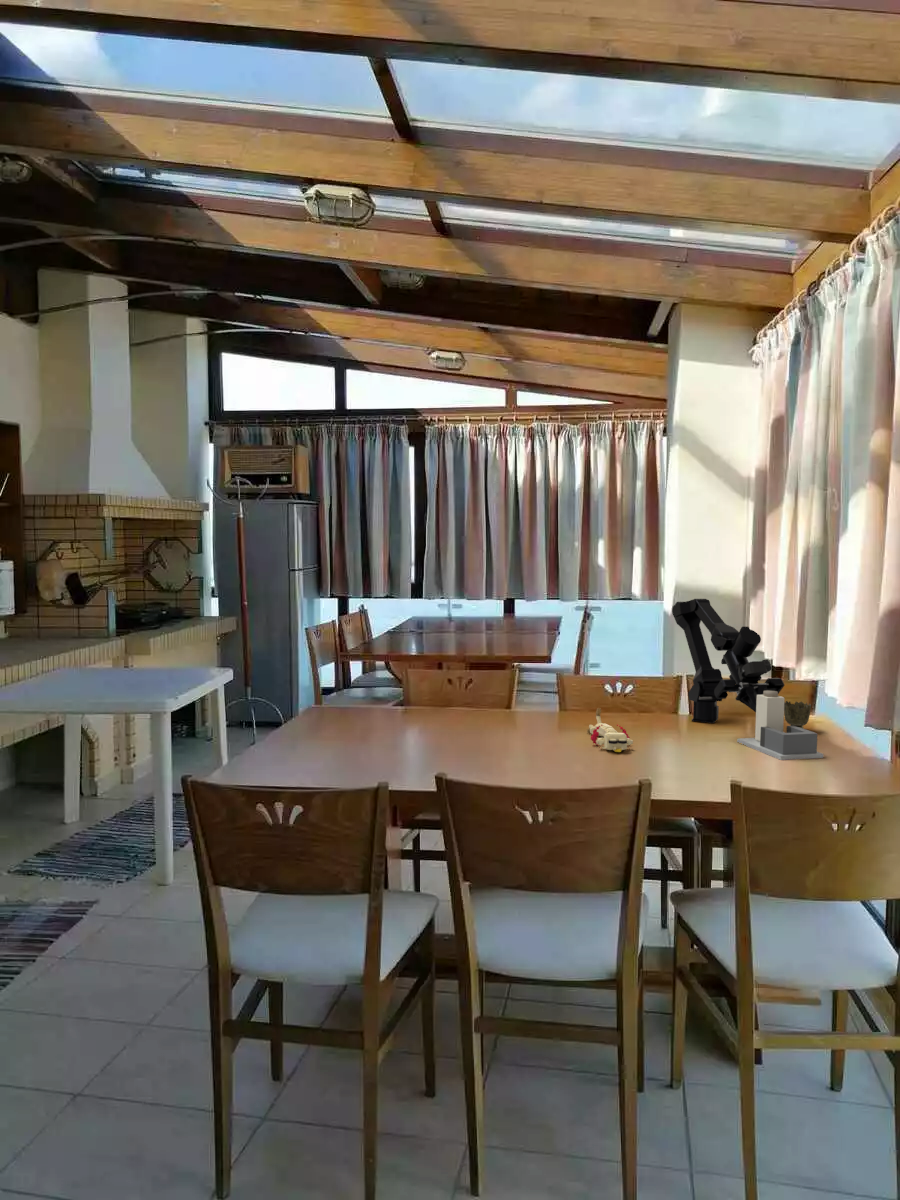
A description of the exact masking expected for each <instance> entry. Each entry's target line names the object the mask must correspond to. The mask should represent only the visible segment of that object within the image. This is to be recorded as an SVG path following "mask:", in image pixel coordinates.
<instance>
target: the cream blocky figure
mask: <svg viewBox="0 0 900 1200" xmlns="http://www.w3.org/2000/svg"><path fill="white" fill-rule="evenodd" d="M601 715H602V708H601V707H597V708H596V712H595V718H596V722H597V723H596V724H595V725H593V724H589V725H588V729H586V733H587V734H589V735H590V740H591V741H592V744H595V745H596V746H601V749H603V750H608V751H613V752H615V753H621V752H622V751H625V750H628V746H632V745H633V744H634V740H633V739H631V738H630V736H629V734H628V733H627V730H626V728H625V729H624V727H623V726H621V725H619V724H616V726H617V727H619V728H620V729H619V730H622V732H618V731H617V730H616V729H615V728H614V727H613V726H612V725H609V724H607V723H603V722H602V718H601ZM602 745H603V746H602Z"/></svg>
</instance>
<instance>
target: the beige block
mask: <svg viewBox="0 0 900 1200" xmlns="http://www.w3.org/2000/svg"><path fill="white" fill-rule="evenodd" d="M784 702H785V697H783V696H780V695H779V694H778V692H777V691H770V690H766V691H763V695H757V701H756V712H755V732H754V733H755V736H754V738H755V739H756V740H758V741H760V735H761V727H771V728H773V729H776V730H779V731H782V732H784V719H785V714H784Z"/></svg>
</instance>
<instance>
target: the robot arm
mask: <svg viewBox="0 0 900 1200" xmlns="http://www.w3.org/2000/svg"><path fill="white" fill-rule="evenodd" d="M671 613H672V616H673V618H674V620H675V623H676V625H678V627H680V628H681V629H682V630H683V632H684V637H685V639H686V642H687V645H688V649H689V652H690V657H691V659H692V663H693V665H694V666H693V667H694V669H695V673H694V677H693V678H692V683H693V685H692V686H691V687H690V690H689V691H688V692H687V694H688V700H689V701H691V702H693V714H692V715H693V717H692V718H691V722H696V721H701V722H700V723H705V722H708V724H715V723H716V722H717V721H718V720H719V711H720V709H719V705H718V702H723V699H727V697H728V693H736V695H737V696H736V697H735V701H739V702H740V703H742V704H744V705H745V706H747V707H748V708H749V709H750V710H752V712H754V713H756V701H757V695H763V691H766V690H770V691H777V692H778V695H779V693H781V691H782V689H784V687H785V683H784V681H783V679H782V678H780V677H768V678H766V680H765V681H764V682H759V681H761V680H762V676H763V675H764V674H767V673H768V672H770V671H772V665H771V662H770V661H769V659H762V660H760V661H759V660H758V661H754V660H753V661H749V659H748V658H749V657H751V656H752V655H753V653H754V652H755V650H756V649H757V648H758V646H759V645H760V643H761V642H762V641H761V640H762V639H761V636H760V634H759V633H757V632H756V631H755V630H753V629H750V627H749V626H741V627H740V629H739V631H738V629H736V628H735V627H734V626H731V625H729V624H727V623H725V621H724V620H723V619H722V617H721V616H720V615H719V614H718V612H716V610H715V609H714V608H713V606H712V605H711V602H710V600H709V599H707V598H694V599H690V600H687V601H676V602H675V604H674V605H672V607H671ZM701 622H702V624H703V625H704V626H705V628H706V629H707V630H708V632H709V633H710V635H711V636H710V641H711V643H712V645H713V647H714V649H715V650H716V651H717V652H718V651H719V652H720V651H722V652H724V651H725V653H724V654H723V656H722V659H721V665H726V666H727V668H728V670H729V672H730V675H729V676H728V678H729V679H728V678H727V679H725V678H724V679H723V677H722V672H721V670H720V668H714V667H713V666H712V663H711V659H710V656H709V652H708V649H707V646H706V645H707V644H706V642H705V639H704V635H703V632H702V629H701V626H700V624H701ZM716 720H717V721H716ZM715 721H716V722H715Z"/></svg>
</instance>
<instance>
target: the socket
mask: <svg viewBox="0 0 900 1200" xmlns="http://www.w3.org/2000/svg"><path fill="white" fill-rule="evenodd" d="M736 742H737V743H738V742H739V743H738V744H740V743H742V744H741V745H743V744H744V745H743V746H745V745H746V746H745V747H748V748H750V749H753V750H755V751H758V752H760V753H763V754H765V755H768V756H770V757H772V758H775V759H778V760H780V761H784V760H785V761H786V760H802V759H803V760H804V759H806V760H808V759H823V758H824V753H822V752H819V751H818V733H816V732H814V731H812V730H808V729H806V728H804V727H803V728H800V727H797V726H794V725H793V726H790V725H786V732H785V731H783V732H782V731H779V730H776V729H773V728H771V727H761V735H760V741H758V740H756V739H755V737H743V738H742V737H741V738H737V740H736Z"/></svg>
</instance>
